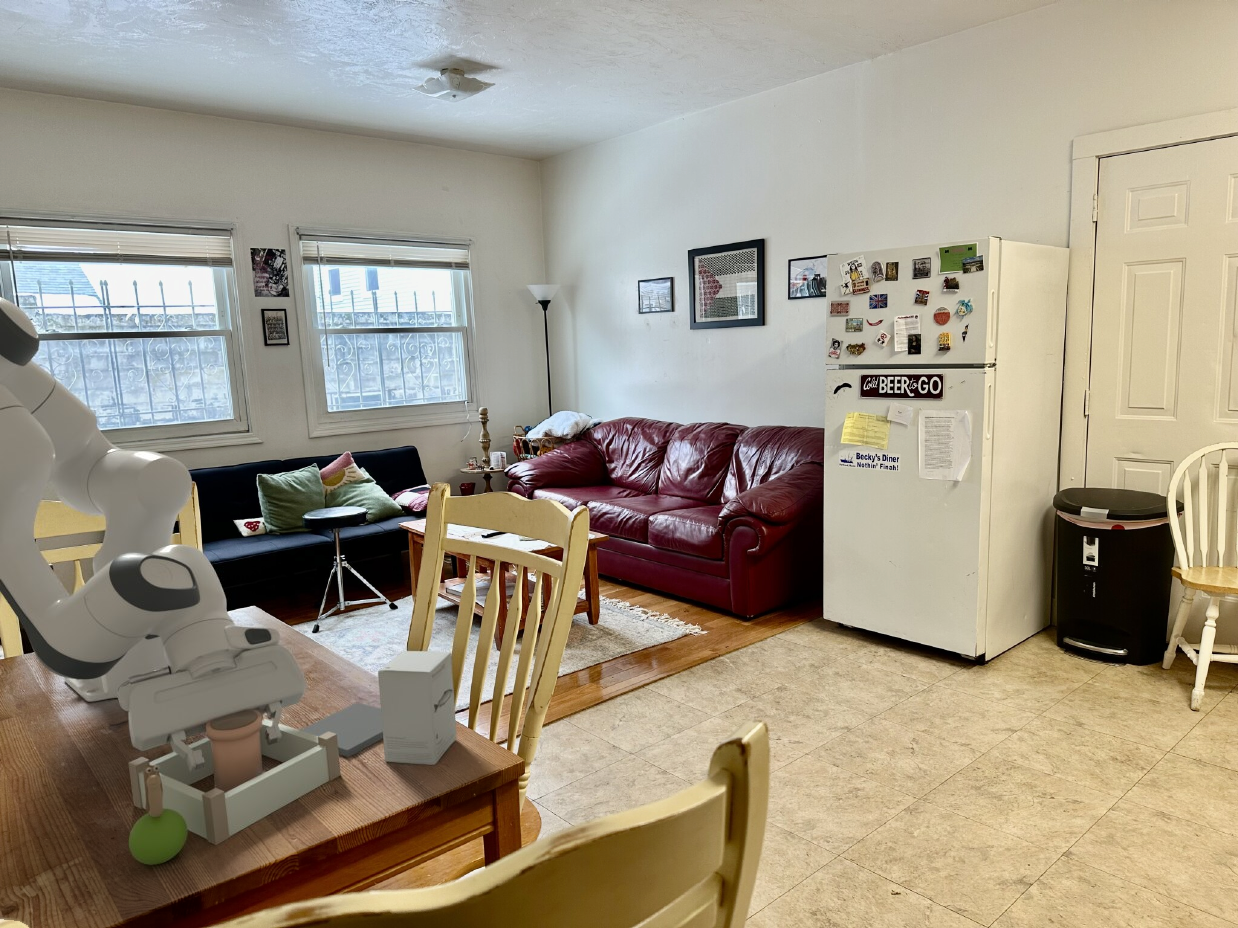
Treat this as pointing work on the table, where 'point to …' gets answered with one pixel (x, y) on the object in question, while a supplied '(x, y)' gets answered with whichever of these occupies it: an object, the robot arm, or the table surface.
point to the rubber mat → (351, 727)
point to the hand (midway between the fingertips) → (237, 754)
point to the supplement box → (417, 707)
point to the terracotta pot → (235, 748)
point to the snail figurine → (156, 825)
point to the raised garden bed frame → (251, 801)
